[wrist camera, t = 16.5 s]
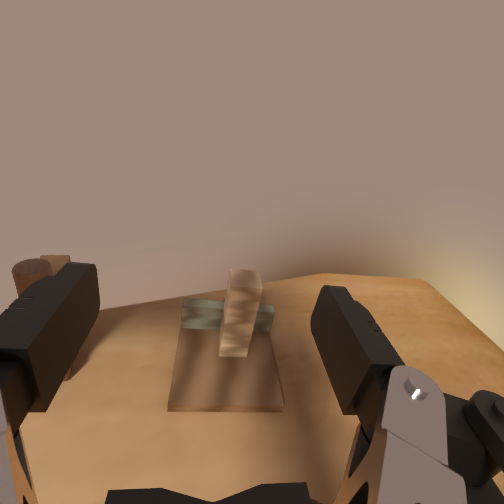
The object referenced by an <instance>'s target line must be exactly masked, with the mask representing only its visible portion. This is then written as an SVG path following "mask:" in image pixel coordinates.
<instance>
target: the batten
mask: <svg viewBox="0 0 504 504" xmlns="http://www.w3.org/2000/svg"><path fill="white" fill-rule="evenodd" d="M262 290H263V288H262V283H261V279H260V274H259V271H250V270H239V269H230V272H229V279H228V285H227V291H226V297H225V303H224V309H223V315H222V322H221V328H220V334H219V356H227V357H247V353H248V348H249V344H250V340H251V336H252V332H253V327H254V323H255V319H256V315H257V311H258V306H259V302H260V298H261V294H262Z"/></svg>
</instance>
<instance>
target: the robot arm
mask: <svg viewBox="0 0 504 504" xmlns="http://www.w3.org/2000/svg"><path fill="white" fill-rule="evenodd" d="M99 308H100V296H99V287H98V278H97V269H96V267H95V265H94V264H89V263H77V262H67V263H66V264H65V265H64V266H63V267H62V268H61V269H60V270H59V271H58V272H57V274H56V275H55V276H45V277H44V278H42V279H40V280H38V281H36V282H34V283H32V284H31V285H29V286H28V287H27V288H26V289H25V290H24V291H23V292H22V294H21V295H20V296H19V298H18V299H16V300H15V301H14V302H13V303H12V304H11V305H10V306H9V308H8V309H6V310H5V311H4V312H3V313H2V314H1V315H0V504H38V501H37V497H36V493H35V489H34V484H33V480H32V476H31V472H30V467H29V463H28V459H27V454H26V450H25V446H24V441H23V437H22V433H21V429H20V425H21V423H22V422H23V420H24V418H25V417H26V415H27V413H28V412H46V411H47V409H48V407H49V405H50V403H51V401H52V400H53V398H54V396H55V394H56V392H57V390H58V389H59V387H60V385H61V383H62V381H63V379H64V378H65V376H66V374H67V372H68V370H69V368H70V367H71V365H72V363H73V361H74V359H75V357H76V356H77V354H78V352H79V350H80V348H81V346H82V345H83V343H84V341H85V339H86V337H87V335H88V333H89V332H90V330H91V328H92V326H93V324H94V322H95V321H96V319H97V316H98V313H99ZM375 322H376V321H375V320H374V318H373V317H372V315H371V314H370V312H369V311H368V310H367V309H366V308H365V307H363V306H362V305H361V304H360V303H359V302H358V301H354V300H353V298H352V297H351V295H350V293H349V292H348V290H347V289H346V288H345V287H341V286H330V285H324V286H323V287H322V289H321V291H320V294H319V296H318V299H317V302H316V305H315V307H314V310H313V313H312V316H311V332H312V335H313V337H314V340H315V342H316V345H317V348H318V350H319V353H320V355H321V358H322V361H323V363H324V366H325V368H326V371H327V374H328V376H329V379H330V382H331V384H332V387H333V389H334V392H335V395H336V397H337V400H338V402H339V405H340V408H341V410H342V413H343V415H357V416H358V418H359V420H360V423H359V425H358V426H357V429H356V433H355V436H354V440H353V444H352V448H351V452H350V455H349V459H348V463H347V467H346V470H345V474H344V478H343V482H342V485H341V488H340V490H339V493H338V495H337V497H336V499H335V502H334V504H504V496H503V494H502V493H501V491H500V490H499V488H498V487H497V485H496V484H495V482H494V481H493V479H492V478H493V477H494V476H495V475H496V474H497V473H499V472H500V471H501V470H502V471H503V472H504V397H502V396H500V395H498V394H495V393H493V392H490V391H485V390H480V391H477V392H476V393H475V394H474V395H473V396H472V397H471V398H470V399H469V401H468V400H465V399H462V398H458V397H455V396H452V395H449V394H446V393H443V392H442V391H441V389H440V388H439V386H438V385H437V384H436V383H435V382H434V381H433V380H432V379H431V378H430V377H428V376H427V375H426V374H424V373H423V372H421V371H419V370H417V369H415V368H412V367H409V366H406V365H405V364H404V362H403V361H402V359H401V358H400V356H399V355H398V353H397V352H396V351H395V349H394V348H393V346H392V345H391V343H390V342H389V340H388V339H387V337H386V336H385V334H384V333H382V330H381V329H380V327H379V326H378V324H377V323H375ZM105 504H322V503H320V502H318V501H315V500H313V499H310V497H309V493H308V488H307V484H306V482H301V483H276V484H261V485H258V486H256V487H253V488H250V489H248V490H245V491H243V492H240V493H237V494H235V495H232V496H230V497H227V498H224V499H222V500H219V501H216V502H208V501H205V500H201V499H198V498H194V497H191V496H187V495H184V494H180V493H177V492H174V491H170V490H167V489H163V488H150V489H125V490H108V494H107V497H106V501H105Z"/></svg>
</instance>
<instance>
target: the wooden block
mask: <svg viewBox="0 0 504 504" xmlns="http://www.w3.org/2000/svg"><path fill="white" fill-rule="evenodd" d="M67 262H71V261H70V256H69V255H50V256H40V259H28V260H24V261H21V262H19V263H17V264H16V265H15V266H14V267H13V269H12V274H13V278H14V281H15V285H16V289H17V292H18V296H20V295H21V294H22V292H23V291H24V290H25V289H26V288H27V287H28V286H29V285H31V284H32V283H34V282H36V281H38V280H40V279H42V278H44V277H45V276H55V275H56V274H57V272H58V271H59V270H60V269H61V268H62V267H63V266H64V265H65V264H66V263H67ZM71 368H72V365H71V367H70V368H69V370H68V372H67V374H66V376H65V378H64V379H63V381H66V380H68V379H69V377H70V373H71Z"/></svg>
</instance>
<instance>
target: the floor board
mask: <svg viewBox="0 0 504 504" xmlns="http://www.w3.org/2000/svg"><path fill="white" fill-rule="evenodd" d="M224 303H225V301H215V300H201V299H188V298H184V299H183V304H182V316H181V329H180V335H179V341H178V347H177V353H176V359H175V365H174V371H173V377H172V383H171V389H170V395H169V401H168V411H170V412H282V410H283V407H284V403H283V398H282V393H281V388H280V383H279V378H278V374H277V369H276V364H275V359H274V354H273V349H272V344H271V340H270V335H269V331H270V328H271V324H272V321H273V317H274V313H275V311H274V307H273V305H270V304H259V306H258V311H257V315H256V319H255V323H254V327H253V332H252V336H251V340H250V344H249V348H248V353H247V357H227V356H219V334H220V328H221V322H222V315H223V309H224Z"/></svg>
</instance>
